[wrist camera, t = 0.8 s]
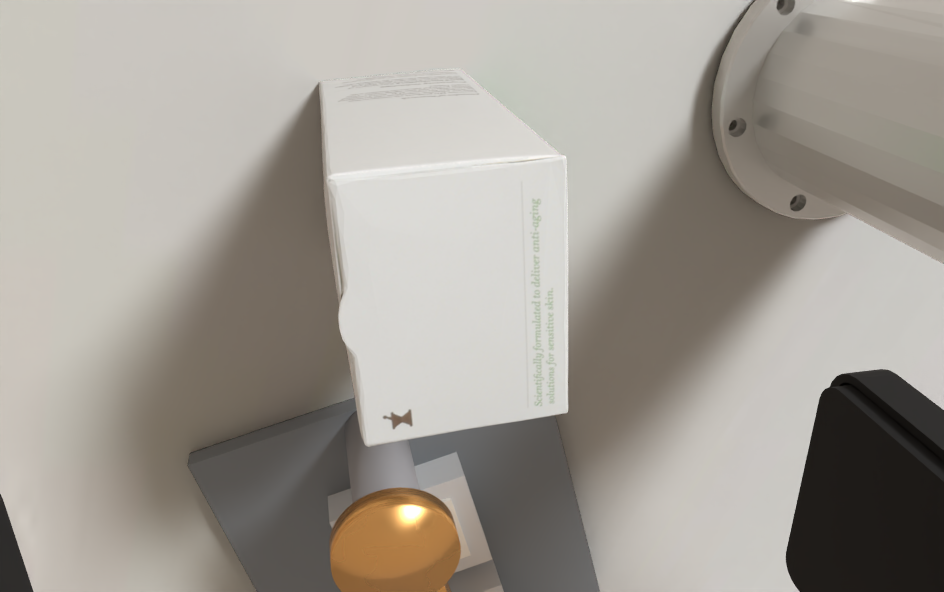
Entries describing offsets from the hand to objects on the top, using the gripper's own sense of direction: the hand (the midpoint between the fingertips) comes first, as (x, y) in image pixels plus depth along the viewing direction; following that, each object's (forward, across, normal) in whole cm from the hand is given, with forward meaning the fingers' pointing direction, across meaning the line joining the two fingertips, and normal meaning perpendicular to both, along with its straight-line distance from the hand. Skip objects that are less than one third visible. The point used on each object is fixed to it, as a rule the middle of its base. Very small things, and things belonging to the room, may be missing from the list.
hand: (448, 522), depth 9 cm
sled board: (+27, -2, +24) cm, 36 cm away
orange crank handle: (+23, -2, +24) cm, 33 cm away
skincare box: (+27, -2, +3) cm, 28 cm away
